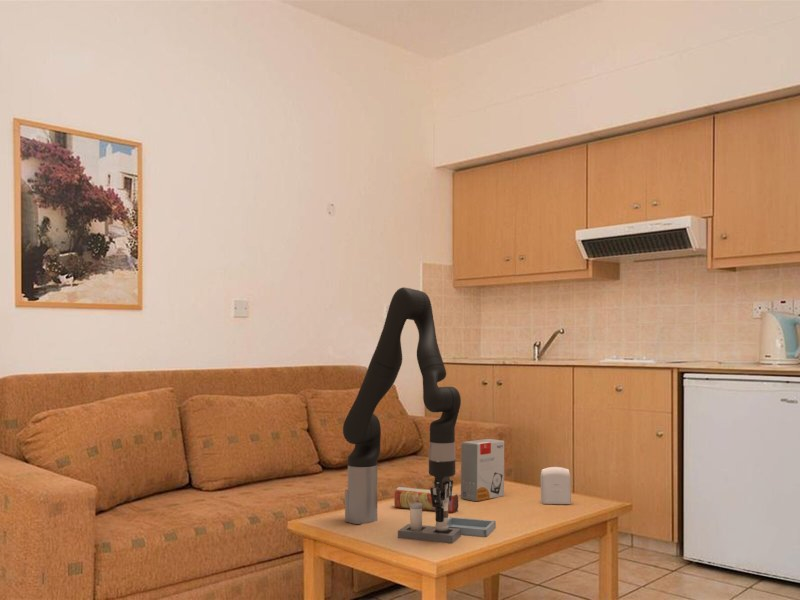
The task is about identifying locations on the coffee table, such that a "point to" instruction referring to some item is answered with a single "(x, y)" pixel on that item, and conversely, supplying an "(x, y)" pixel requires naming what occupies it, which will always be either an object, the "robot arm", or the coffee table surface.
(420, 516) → the fuse
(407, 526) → the fuse block
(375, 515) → the robot arm
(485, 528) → the parts tray
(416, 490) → the snack package
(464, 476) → the hard drive box
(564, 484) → the photo printer
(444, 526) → the cylinder
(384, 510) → the coffee table surface
